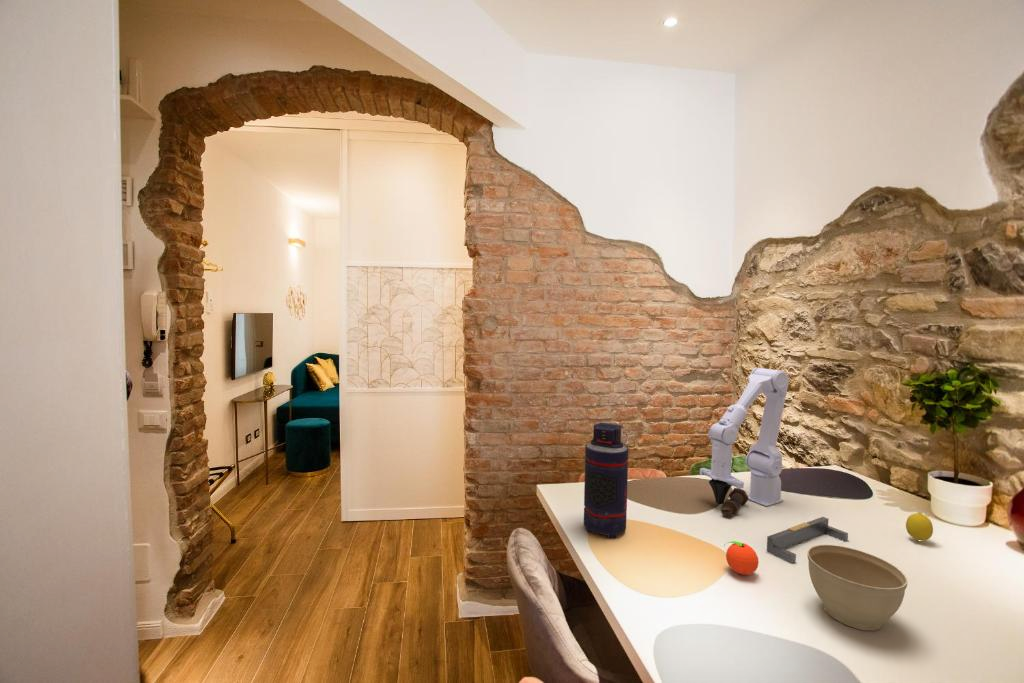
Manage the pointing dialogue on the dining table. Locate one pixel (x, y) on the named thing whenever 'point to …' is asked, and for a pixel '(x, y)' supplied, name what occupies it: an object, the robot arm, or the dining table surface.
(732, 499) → the bolt
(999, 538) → the dining table surface
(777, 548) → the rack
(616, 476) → the grenade
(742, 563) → the orange-red round fruit
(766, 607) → the dining table surface
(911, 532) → the lemon
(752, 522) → the dining table surface
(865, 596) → the planter bowl
